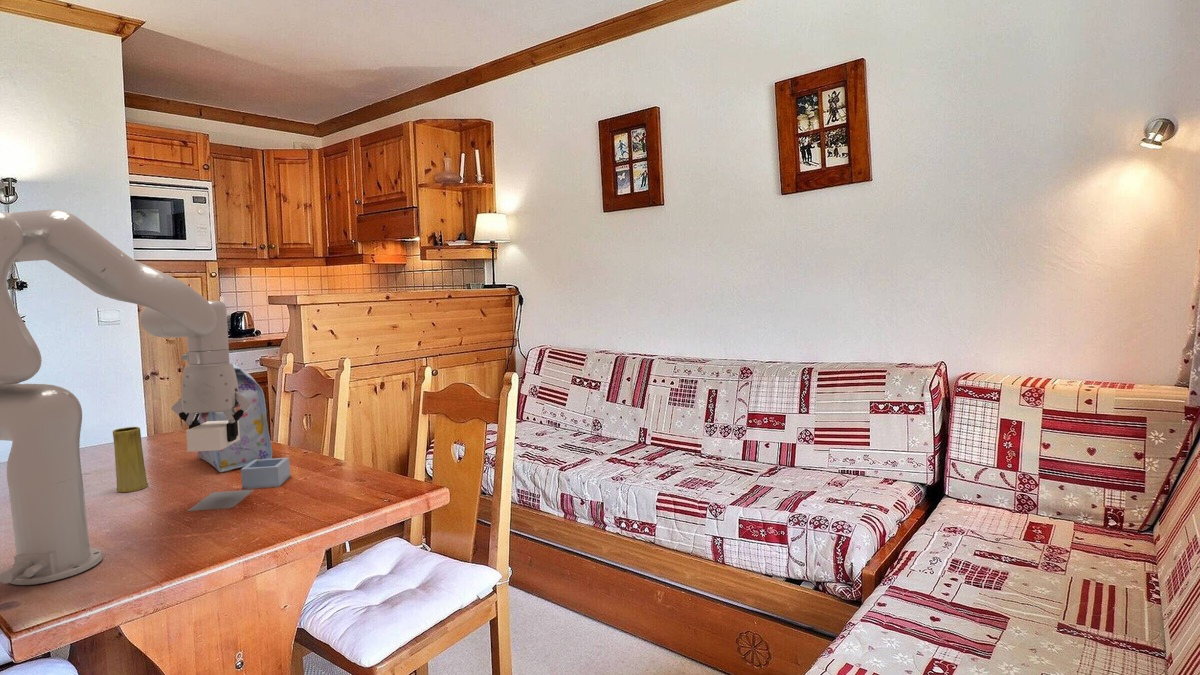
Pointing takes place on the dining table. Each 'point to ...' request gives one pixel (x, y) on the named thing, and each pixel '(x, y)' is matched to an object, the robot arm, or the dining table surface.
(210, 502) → the mat
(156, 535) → the dining table surface
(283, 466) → the open box
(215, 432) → the lid
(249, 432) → the lunch bag
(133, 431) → the vase
